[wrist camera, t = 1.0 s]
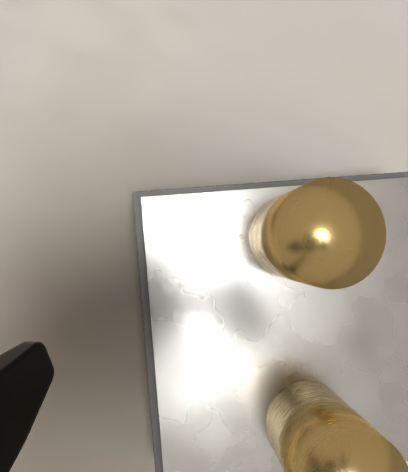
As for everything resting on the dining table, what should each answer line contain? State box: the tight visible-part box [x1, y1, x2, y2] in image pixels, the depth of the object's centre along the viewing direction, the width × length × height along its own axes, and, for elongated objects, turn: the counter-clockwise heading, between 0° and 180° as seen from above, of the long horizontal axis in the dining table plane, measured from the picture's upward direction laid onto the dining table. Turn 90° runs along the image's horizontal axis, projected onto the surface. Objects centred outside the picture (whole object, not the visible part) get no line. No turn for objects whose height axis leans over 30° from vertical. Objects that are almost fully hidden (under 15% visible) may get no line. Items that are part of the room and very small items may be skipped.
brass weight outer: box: [249, 177, 386, 289], centre depth 16 cm, size 4×4×5 cm
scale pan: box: [141, 177, 408, 472], centre depth 19 cm, size 14×14×1 cm
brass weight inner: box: [265, 381, 408, 472], centre depth 15 cm, size 4×4×5 cm
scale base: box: [133, 172, 408, 472], centre depth 21 cm, size 15×16×3 cm
